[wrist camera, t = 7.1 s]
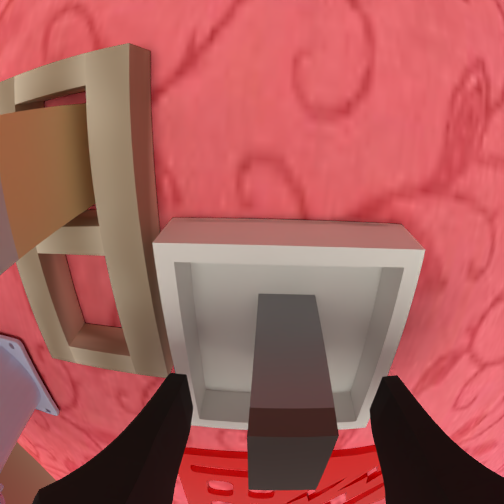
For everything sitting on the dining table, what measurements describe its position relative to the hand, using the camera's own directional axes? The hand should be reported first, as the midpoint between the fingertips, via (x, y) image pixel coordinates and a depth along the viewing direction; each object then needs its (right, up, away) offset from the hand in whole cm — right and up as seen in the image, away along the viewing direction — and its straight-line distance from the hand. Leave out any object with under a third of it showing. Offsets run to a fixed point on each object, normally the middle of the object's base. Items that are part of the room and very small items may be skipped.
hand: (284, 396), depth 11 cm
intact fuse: (-8, +10, +1) cm, 13 cm away
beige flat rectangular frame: (-8, +7, +2) cm, 11 cm away
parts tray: (0, +2, +4) cm, 4 cm away
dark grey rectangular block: (0, +2, +4) cm, 4 cm away
